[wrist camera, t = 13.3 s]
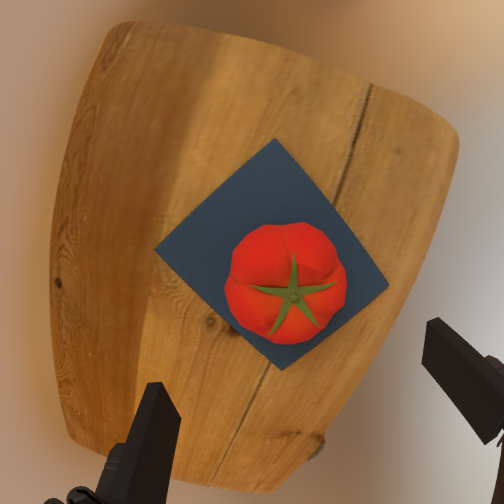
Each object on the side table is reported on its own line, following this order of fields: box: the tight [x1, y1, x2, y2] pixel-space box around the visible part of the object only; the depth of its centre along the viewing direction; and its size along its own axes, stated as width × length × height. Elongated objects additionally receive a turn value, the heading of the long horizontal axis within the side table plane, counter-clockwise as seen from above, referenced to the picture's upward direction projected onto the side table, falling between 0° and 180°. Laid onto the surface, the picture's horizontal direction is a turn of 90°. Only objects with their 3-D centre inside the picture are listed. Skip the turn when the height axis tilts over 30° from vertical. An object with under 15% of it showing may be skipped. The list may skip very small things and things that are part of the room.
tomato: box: [224, 222, 347, 344], centre depth 25 cm, size 11×11×8 cm
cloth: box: [154, 138, 389, 370], centre depth 29 cm, size 20×16×1 cm
